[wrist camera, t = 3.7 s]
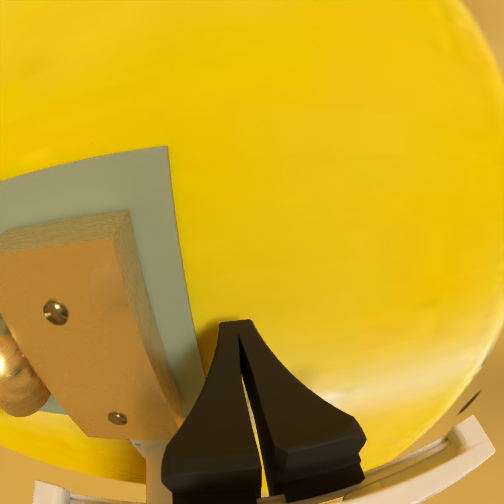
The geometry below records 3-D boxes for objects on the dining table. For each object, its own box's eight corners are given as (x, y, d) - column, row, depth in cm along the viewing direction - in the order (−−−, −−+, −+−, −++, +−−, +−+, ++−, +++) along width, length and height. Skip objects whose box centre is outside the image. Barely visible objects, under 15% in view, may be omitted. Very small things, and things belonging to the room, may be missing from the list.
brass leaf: (183, 403, 16) (185, 462, 12) (41, 399, 14) (28, 446, 11) (129, 208, 10) (96, 265, 6) (-47, 242, 9) (-91, 285, 5)
